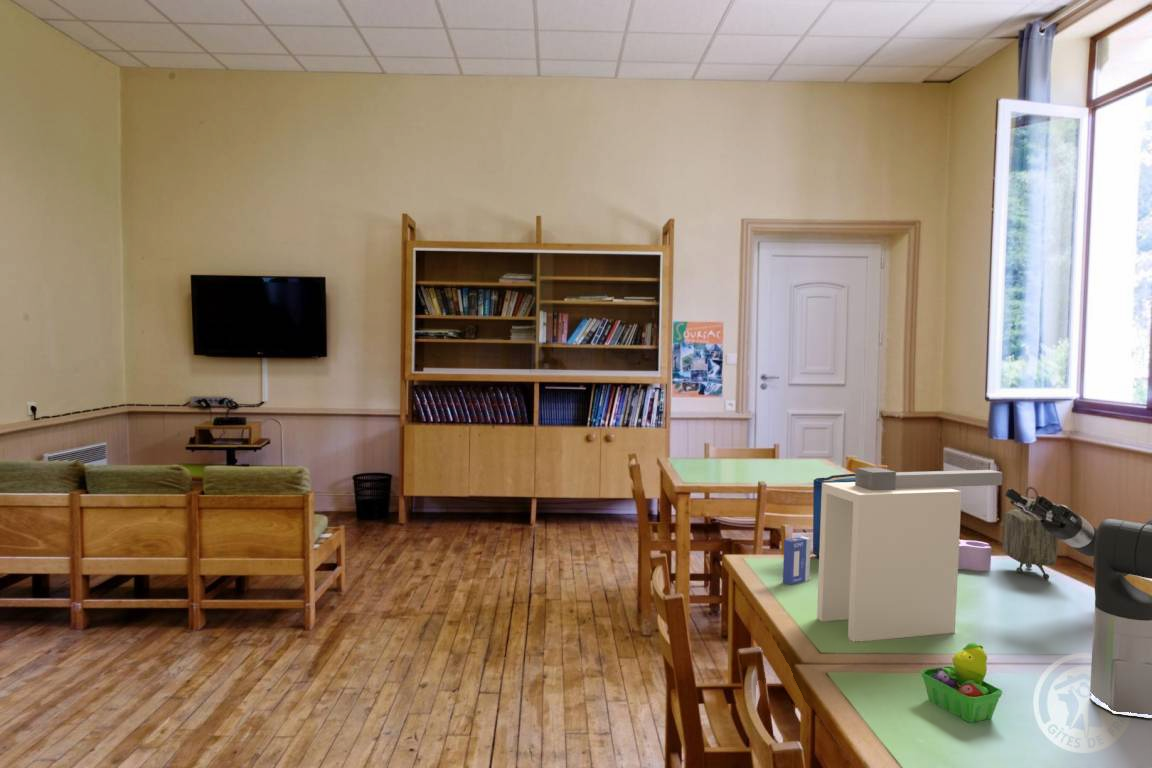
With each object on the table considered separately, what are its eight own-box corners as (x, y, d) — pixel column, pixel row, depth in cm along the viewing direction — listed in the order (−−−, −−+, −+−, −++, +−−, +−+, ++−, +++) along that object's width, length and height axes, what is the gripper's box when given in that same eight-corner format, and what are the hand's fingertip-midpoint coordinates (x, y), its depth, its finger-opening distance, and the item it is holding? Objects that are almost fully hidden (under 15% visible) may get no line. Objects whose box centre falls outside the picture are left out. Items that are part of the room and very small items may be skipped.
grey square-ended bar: (986, 481, 177) (986, 464, 177) (1006, 486, 172) (1007, 468, 171) (855, 485, 168) (855, 468, 168) (871, 490, 163) (872, 472, 162)
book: (821, 562, 218) (824, 478, 217) (807, 555, 225) (810, 474, 224) (883, 558, 224) (887, 476, 223) (868, 551, 231) (871, 472, 230)
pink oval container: (985, 563, 222) (986, 540, 222) (992, 574, 210) (993, 550, 210) (912, 555, 229) (913, 533, 229) (915, 566, 217) (916, 542, 217)
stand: (912, 610, 179) (917, 480, 177) (954, 632, 165) (961, 491, 164) (816, 618, 172) (821, 482, 171) (853, 641, 159) (859, 494, 157)
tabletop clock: (1056, 582, 204) (1060, 492, 202) (1020, 580, 205) (1025, 491, 204) (1032, 567, 218) (1036, 483, 217) (999, 565, 219) (1003, 481, 218)
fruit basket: (916, 697, 134) (919, 636, 133) (953, 690, 137) (956, 631, 137) (970, 728, 123) (973, 662, 123) (1008, 720, 126) (1012, 655, 126)
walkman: (790, 585, 197) (792, 540, 196) (782, 582, 199) (784, 538, 198) (810, 580, 201) (811, 537, 200) (802, 577, 203) (803, 534, 203)
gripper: (1087, 547, 173) (1040, 515, 169) (1036, 532, 187) (991, 502, 183) (1101, 519, 174) (1055, 487, 170) (1049, 506, 188) (1005, 476, 184)
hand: (1022, 495), depth 177 cm, fingers open, 8 cm apart
